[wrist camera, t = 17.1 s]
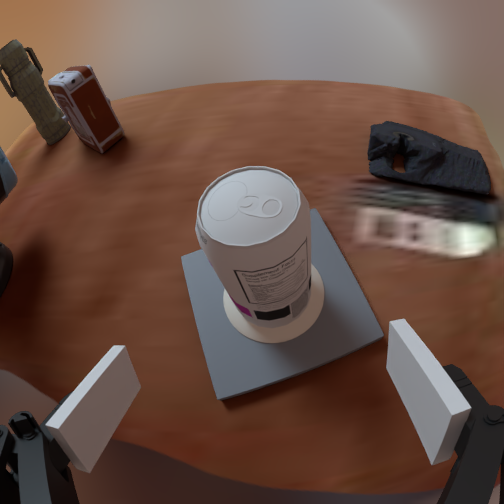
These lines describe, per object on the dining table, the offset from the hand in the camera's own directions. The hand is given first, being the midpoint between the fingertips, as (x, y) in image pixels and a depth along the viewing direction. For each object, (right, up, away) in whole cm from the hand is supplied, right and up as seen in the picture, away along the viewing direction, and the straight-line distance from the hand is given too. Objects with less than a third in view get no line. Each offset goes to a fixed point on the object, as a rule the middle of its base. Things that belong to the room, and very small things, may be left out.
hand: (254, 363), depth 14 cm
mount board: (+2, 0, +20) cm, 21 cm away
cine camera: (-37, +32, +49) cm, 69 cm away
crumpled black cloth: (+29, +20, +28) cm, 45 cm away
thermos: (-57, +40, +57) cm, 90 cm away
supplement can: (+2, +1, +19) cm, 19 cm away
